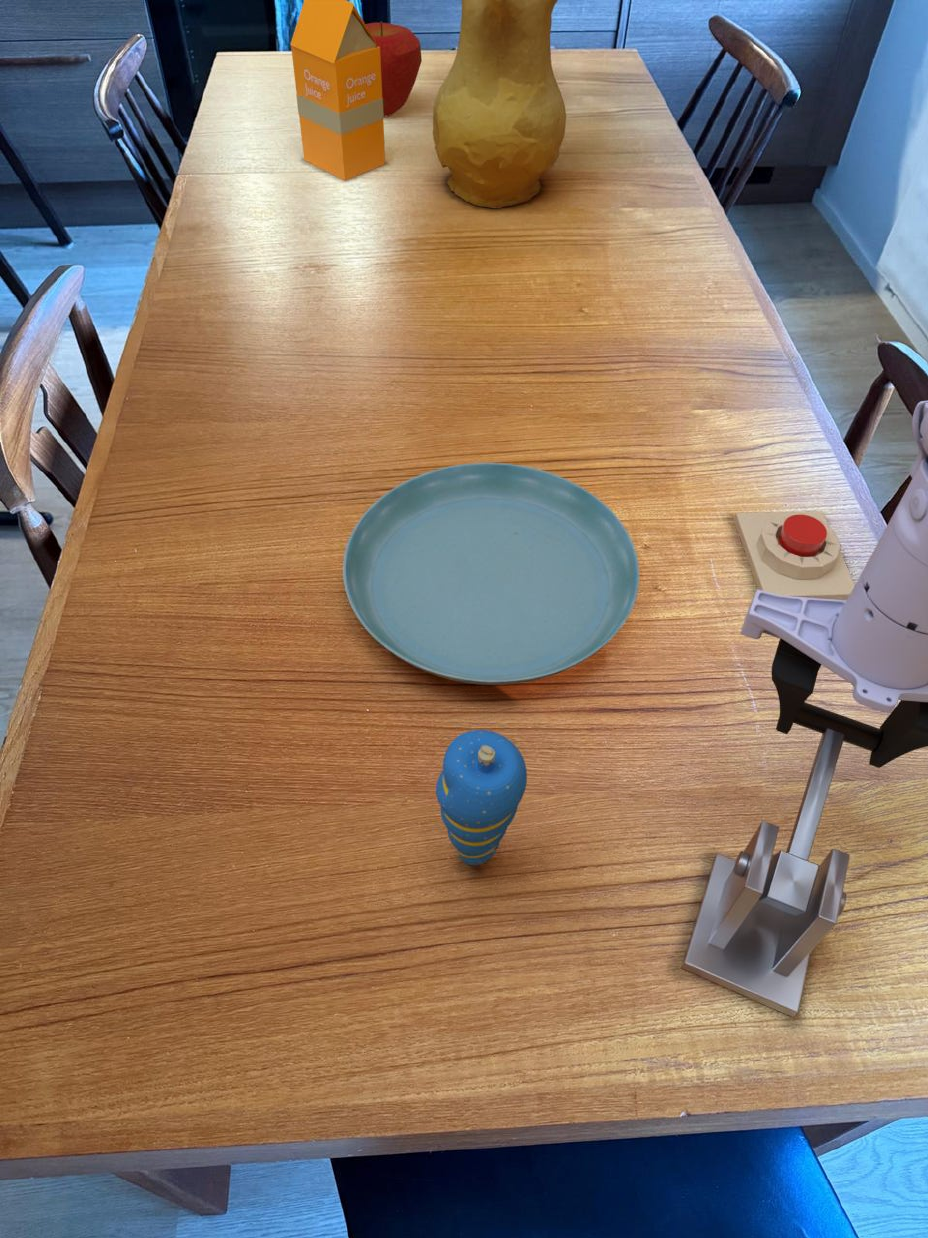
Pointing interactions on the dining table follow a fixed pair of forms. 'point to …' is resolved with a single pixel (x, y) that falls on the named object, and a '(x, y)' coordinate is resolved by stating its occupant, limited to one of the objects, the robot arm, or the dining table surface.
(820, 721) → the lever
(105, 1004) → the dining table surface
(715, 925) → the bracket
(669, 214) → the dining table surface
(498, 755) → the ornament
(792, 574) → the button block
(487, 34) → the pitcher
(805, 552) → the button
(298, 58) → the orange juice
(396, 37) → the apple
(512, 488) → the teal plate
